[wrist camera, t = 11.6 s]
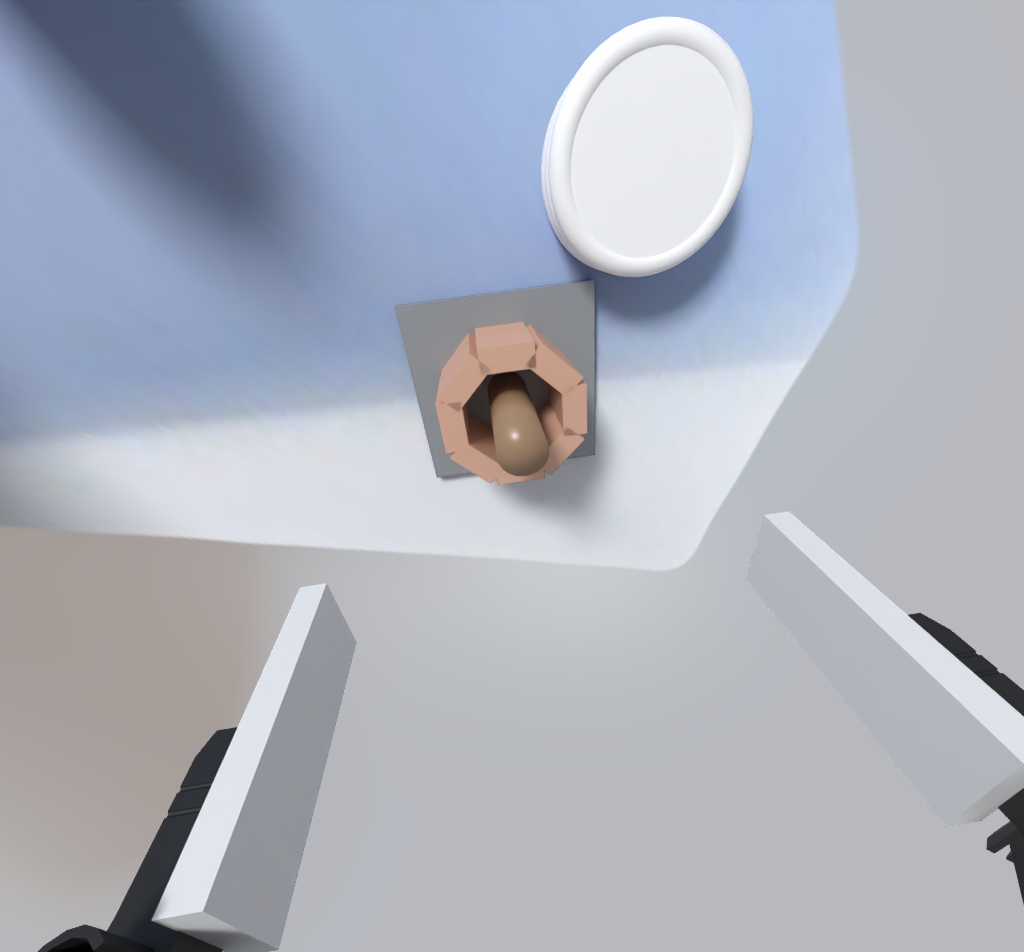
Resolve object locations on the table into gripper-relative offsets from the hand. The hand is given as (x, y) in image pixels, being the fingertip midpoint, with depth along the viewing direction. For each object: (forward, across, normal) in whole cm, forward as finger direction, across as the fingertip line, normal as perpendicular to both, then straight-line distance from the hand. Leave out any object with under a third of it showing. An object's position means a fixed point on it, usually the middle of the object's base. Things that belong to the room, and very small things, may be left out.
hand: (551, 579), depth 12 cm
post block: (+18, 0, 0) cm, 18 cm away
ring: (+17, 0, 0) cm, 17 cm away
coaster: (+18, +8, +11) cm, 23 cm away
